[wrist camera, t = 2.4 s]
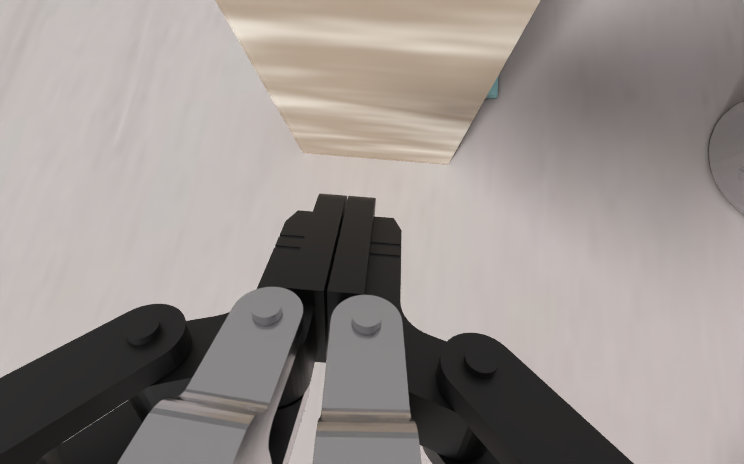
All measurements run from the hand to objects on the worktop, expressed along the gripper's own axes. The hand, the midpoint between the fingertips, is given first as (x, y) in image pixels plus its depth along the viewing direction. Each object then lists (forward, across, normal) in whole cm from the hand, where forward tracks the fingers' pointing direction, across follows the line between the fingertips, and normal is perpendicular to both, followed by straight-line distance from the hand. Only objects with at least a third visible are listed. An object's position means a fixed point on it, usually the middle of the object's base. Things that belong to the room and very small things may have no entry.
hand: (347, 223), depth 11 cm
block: (+17, 0, +4) cm, 18 cm away
